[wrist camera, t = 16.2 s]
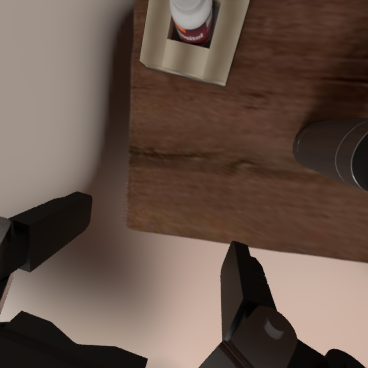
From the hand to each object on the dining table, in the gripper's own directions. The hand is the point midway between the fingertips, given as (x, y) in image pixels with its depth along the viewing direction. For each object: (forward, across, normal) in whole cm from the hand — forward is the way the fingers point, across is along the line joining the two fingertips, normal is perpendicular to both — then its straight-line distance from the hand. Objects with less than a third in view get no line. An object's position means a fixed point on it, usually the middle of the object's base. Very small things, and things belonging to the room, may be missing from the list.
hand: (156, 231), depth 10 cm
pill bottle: (+32, +7, -22) cm, 39 cm away
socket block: (+33, +7, -22) cm, 40 cm away
